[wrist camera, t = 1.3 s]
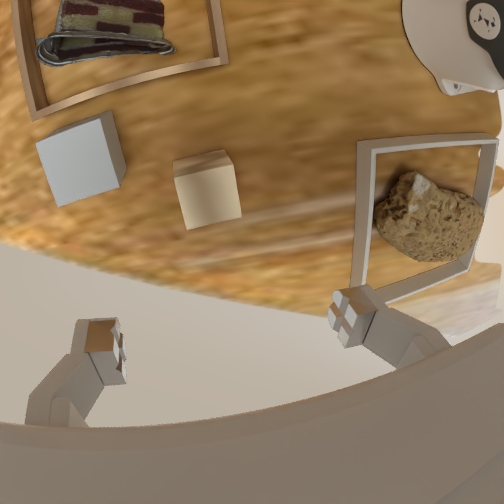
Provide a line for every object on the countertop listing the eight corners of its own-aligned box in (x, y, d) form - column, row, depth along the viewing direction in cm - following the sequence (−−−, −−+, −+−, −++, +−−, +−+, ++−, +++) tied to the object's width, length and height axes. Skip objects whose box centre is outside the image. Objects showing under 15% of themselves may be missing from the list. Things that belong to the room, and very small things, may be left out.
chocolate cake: (190, -12, 20) (82, -58, 10) (184, 52, 22) (59, 19, 12) (123, 18, 24) (27, -2, 14) (116, 75, 26) (11, 65, 16)
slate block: (111, 109, 24) (99, 118, 20) (127, 168, 28) (119, 187, 24) (55, 130, 24) (35, 143, 19) (72, 185, 27) (58, 207, 23)
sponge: (354, 223, 40) (439, 278, 45) (384, 241, 32) (469, 298, 38) (397, 139, 37) (474, 209, 42) (433, 140, 29) (507, 221, 35)
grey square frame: (484, 132, 35) (499, 139, 32) (458, 261, 49) (468, 270, 46) (356, 141, 32) (371, 149, 29) (348, 301, 46) (357, 314, 43)
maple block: (224, 149, 29) (233, 164, 25) (231, 194, 32) (241, 216, 28) (173, 160, 29) (173, 178, 25) (184, 206, 32) (186, 229, 28)
